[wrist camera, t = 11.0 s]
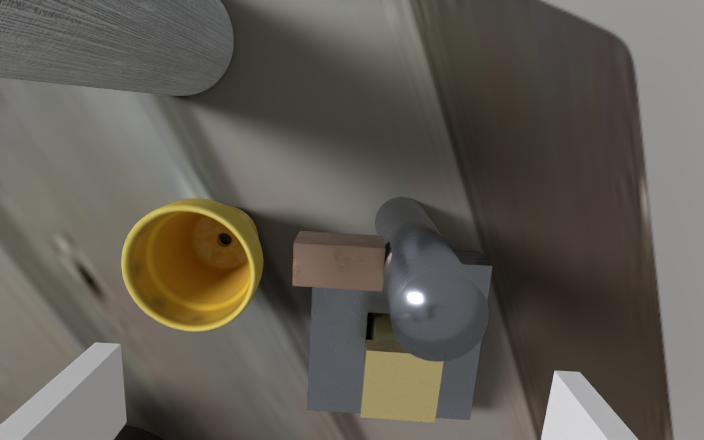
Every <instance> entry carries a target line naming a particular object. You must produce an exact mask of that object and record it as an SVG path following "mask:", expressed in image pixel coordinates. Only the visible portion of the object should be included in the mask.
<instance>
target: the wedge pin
mask: <svg viewBox="0 0 704 440" xmlns="http://www.w3.org/2000/svg"><path fill="white" fill-rule="evenodd" d="M443 362H444V361H442V362H434V361H427V360H423V359H420V358H418V357H415V356H414V355H412V354H410V353H409V352H407V351H406V350H405V349H404V348H403V347H402V346H401V345H400V343H399V342H398V341H397V339H396V337H395V335H394V333H393V329H392V324H391V318H390V314H388V313H373V315H372V326H371V337H370V340H366V348H365V359H364V370H363V381H362V392H361V403H360V414H361V417H365V418H379V419H392V420H406V421H419V422H433V423H435V418H436V411H437V404H438V397H439V390H440V383H441V376H442V369H443Z"/></svg>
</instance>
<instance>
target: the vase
mask: <svg viewBox="0 0 704 440" xmlns="http://www.w3.org/2000/svg"><path fill="white" fill-rule="evenodd" d="M233 46H234V36H233V28H232V24H231V20H230V18H229V15H228V13H227V11H226V9H225V7H224V5H223V4H222V2H221V1H220V0H0V78H10V79H19V80H29V81H38V82H47V83H57V84H66V85H76V86H85V87H95V88H104V89H114V90H123V91H133V92H142V93H152V94H161V95H170V96H187V95H194V94H198V93H200V92H203V91H205V90H207V89H209V88H210V87H212V86H213V85H214V84H215V83H217V82H218V81H219V80H220V78H221V77H222V76H223V75H224V73H225V71H226V70H227V68H228V66H229V63H230V61H231V58H232V53H233Z"/></svg>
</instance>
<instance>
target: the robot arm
mask: <svg viewBox="0 0 704 440" xmlns="http://www.w3.org/2000/svg"><path fill="white" fill-rule="evenodd" d="M126 423H127V419H126V406H125V393H124V380H123V367H122V355H121V344H111V343H94V344H93V345H92V346H91V347H90V348H88V349H87V350H86V351H85V352H84V353H83V354H81V355H80V356H79V357H78V358H77V359H76V360H75V361H73V362H72V363H71V364H70V365H69V366H68V367H66V368H65V369H64V370H63V371H62V372H61V373H60V374H58V375H57V376H56V377H55V378H54V379H53V380H51V381H50V382H49V383H48V384H47V385H46V386H45V387H43V388H42V389H41V390H40V391H39V392H38V393H36V394H35V395H34V396H33V397H32V398H31V399H30V400H28V401H27V402H26V403H25V404H24V405H23V406H21V407H20V408H19V409H18V410H17V411H16V412H15V413H13V414H12V415H11V416H10V417H9V418H8V419H6V420H5V421H4V422H3V423H2V424H1V425H0V440H160V439H159V438H157V437H155V436H154V435H152V434H150V433H147V432H145V431H142V430H139V429H136V428H132V427H126V426H124V425H125V424H126ZM541 440H638V439H637V438H636V436H635V435H634V434H633V433H632V432H631V431H630V429H629V428H628V427H627V426H626V425H625V424H624V423H623V421H622V420H621V419H620V418H619V417H618V416H617V414H616V413H615V412H614V411H613V410H612V409H611V408H610V406H609V405H608V404H607V403H606V402H605V401H604V399H603V398H602V397H601V396H600V395H599V394H598V393H597V391H596V390H595V389H594V388H593V387H592V386H591V384H590V383H589V382H588V381H587V380H586V379H585V377H584V376H583V375H582V374H581V373H580V372H569V371H554V376H553V382H552V387H551V392H550V397H549V402H548V407H547V412H546V417H545V422H544V427H543V432H542V437H541Z"/></svg>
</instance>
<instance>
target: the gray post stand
mask: <svg viewBox="0 0 704 440" xmlns="http://www.w3.org/2000/svg"><path fill="white" fill-rule="evenodd" d="M375 225H376V232H377V236H375V235H359V234H343V233H327V232H310V231H299V233H298V235H297V237H296V239H295V241H294V246H293V281H292V286H302V287H312V305H311V330H310V355H309V379H308V404H307V410H316V411H332V412H349V413H360V403H361V392H362V381H363V370H364V359H365V348H366V344H365V342H366V329H367V316H368V312H372V313H388V314H390V318H391V324H392V329H393V333H394V335H395V337H396V339H397V341H398V342H399V343H400V345H401V346H402V347H403V348H404V349H405V350H406V351H407V352H409V353H410V354H412V355H414V356H415V357H418V358H420V359H423V360H427V361H434V362H442V361H444V362H443V369H442V376H441V383H440V390H439V397H438V404H437V411H436V418H448V419H464V420H470V416H471V409H472V403H473V396H474V389H475V382H476V375H477V369H478V362H479V355H480V348H481V342H482V338H483V336H484V334H485V332H486V329H487V327H488V322H489V308H488V304H487V301H488V294H489V287H490V281H491V274H492V267H493V266H492V265H491V264H490V263H489V262H488V260H487V259H486V258H485V257H484V256H483V255H482V254H481V253H480V252H469V251H453V250H452V249H451V247H450V246H449V245H448V243H447V242H446V240H445V239H444V237H443V236H442V235H441V233H440V232H439V230H438V229H437V227H436V226H435V225H434V223H433V222H432V220H431V219H430V218H429V216H428V215H427V213H426V212H425V210H424V209H423V208H422V206H421V205H420V204H419V203H418V202H416V201H414V200H413V199H410V198H406V197H398V198H393V199H391V200H389V201H387V202H386V203H384V204H383V205H382V206H381V208H380V209H379V211H378V213H377V215H376V220H375Z"/></svg>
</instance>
